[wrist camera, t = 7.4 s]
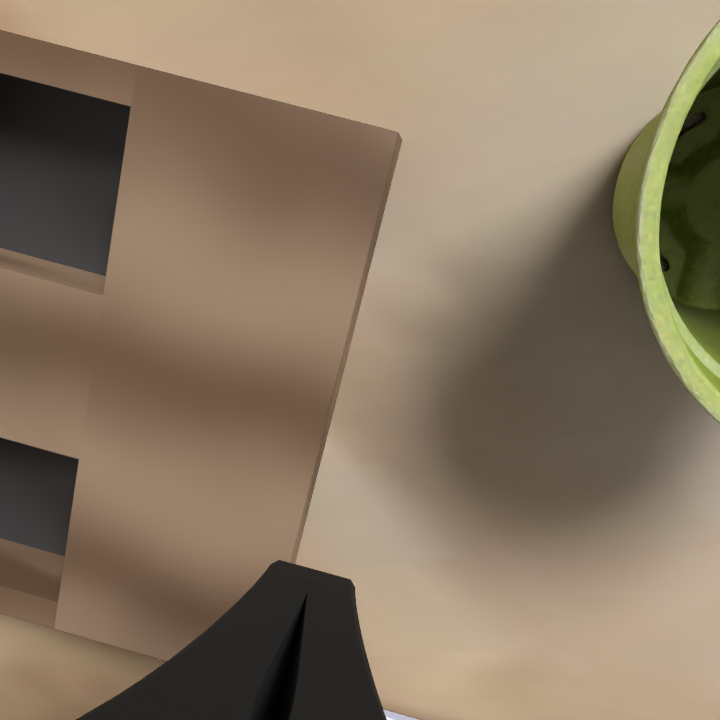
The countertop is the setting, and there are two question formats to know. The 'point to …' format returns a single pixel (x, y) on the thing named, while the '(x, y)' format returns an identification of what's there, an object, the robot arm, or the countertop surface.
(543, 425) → the countertop surface
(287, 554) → the tray
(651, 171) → the plant pot
